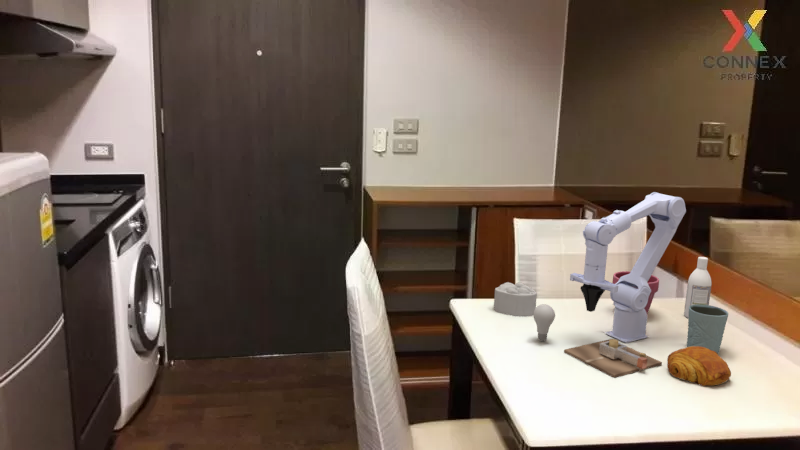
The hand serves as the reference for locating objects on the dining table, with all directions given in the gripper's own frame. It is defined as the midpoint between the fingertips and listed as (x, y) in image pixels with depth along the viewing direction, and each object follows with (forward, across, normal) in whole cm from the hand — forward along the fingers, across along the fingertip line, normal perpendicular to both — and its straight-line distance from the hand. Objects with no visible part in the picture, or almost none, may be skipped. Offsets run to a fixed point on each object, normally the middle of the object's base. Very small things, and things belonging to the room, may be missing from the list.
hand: (590, 310), depth 190 cm
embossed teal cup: (+10, +22, +24) cm, 34 cm away
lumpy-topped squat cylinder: (+10, -31, +4) cm, 33 cm away
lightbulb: (+10, -9, -10) cm, 16 cm away
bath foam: (+10, +8, +48) cm, 50 cm away
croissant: (+10, +30, +6) cm, 32 cm away
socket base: (+10, +10, -4) cm, 15 cm away
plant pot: (+10, -6, +34) cm, 36 cm away
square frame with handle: (+9, +14, -4) cm, 17 cm away
